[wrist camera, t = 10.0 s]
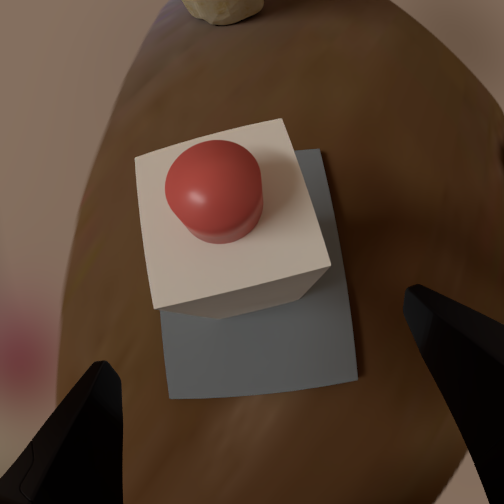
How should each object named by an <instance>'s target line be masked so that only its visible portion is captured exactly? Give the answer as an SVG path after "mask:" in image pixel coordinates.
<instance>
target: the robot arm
mask: <svg viewBox="0 0 504 504" xmlns="http://www.w3.org/2000/svg"><path fill="white" fill-rule="evenodd" d="M403 312H404V316H405V318H406V321H407V323H408V325H409V327H410V330H411V332H412V334H413V337H414V339H415V341H416V344H417V346H418V348H419V351H420V353H421V355H422V357H423V359H424V361H425V363H426V365H427V367H428V369H429V370H430V372H431V374H432V376H433V378H434V380H435V382H436V384H437V386H438V387H439V389H440V391H441V393H442V395H443V397H444V399H445V401H446V403H447V405H448V407H449V409H450V411H451V413H452V415H453V417H454V420H455V422H456V424H457V426H458V428H459V430H460V432H461V435H462V437H463V439H464V441H465V443H466V446H467V448H468V450H469V453H470V455H471V457H472V460H473V462H474V463H475V464H474V465H475V467H476V470H477V472H478V474H479V477H480V480H481V482H482V485H483V487H484V490H485V492H486V495H487V498H488V501H489V504H504V325H503V324H501V323H499V322H497V321H495V320H493V319H491V318H489V317H487V316H485V315H483V314H481V313H479V312H477V311H475V310H473V309H471V308H469V307H467V306H465V305H462V304H460V303H458V302H456V301H454V300H452V299H450V298H448V297H446V296H444V295H441V294H439V293H437V292H435V291H433V290H431V289H429V288H427V287H424V286H422V285H420V284H416V285H413V286H410V287H408V288H407V289H406V291H405V298H404V305H403ZM122 451H123V412H122V388H121V380H120V377H119V376H118V374H117V373H116V372H115V370H114V369H113V368H112V367H111V365H110V364H109V363H108V362H107V361H104V360H103V361H96V362H94V363H93V364H92V365H91V366H90V367H89V369H88V370H87V371H86V372H85V373H84V375H83V376H82V377H81V378H80V379H79V381H78V382H77V383H76V384H75V386H74V387H73V388H72V389H71V390H70V392H69V393H68V394H67V395H66V397H65V398H64V399H63V400H62V402H61V403H60V404H59V405H58V407H57V408H56V409H55V410H54V412H53V413H52V414H51V416H50V417H49V418H48V419H47V421H46V422H45V423H44V425H43V426H42V427H41V428H40V430H39V431H38V432H37V434H36V435H35V436H34V438H33V439H32V441H30V443H29V444H28V446H27V447H26V448H25V450H24V451H23V452H22V453H21V455H20V456H19V457H18V459H17V460H16V461H15V462H14V463H13V465H12V466H11V467H10V468H9V469H8V470H7V472H6V473H5V474H4V475H3V476H2V477H1V478H0V504H123V484H122Z"/></svg>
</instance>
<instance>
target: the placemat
mask: <svg viewBox="0 0 504 504" xmlns="http://www.w3.org/2000/svg"><path fill="white" fill-rule="evenodd" d="M294 153H295V155H296V158H297V161H298V164H299V167H300V169H301V172H302V175H303V178H304V181H305V184H306V187H307V190H308V193H309V196H310V199H311V202H312V205H313V208H314V211H315V214H316V217H317V220H318V223H319V226H320V230H321V233H322V236H323V239H324V242H325V246H326V249H327V252H328V256H329V259H330V263H331V266H330V267H329V269H328V270H327V271H326V272H325V273H324V274H323V275H322V276H321V277H320V278H319V279H318V280H317V281H316V282H315V283H314V284H313V286H312V287H311V288H310V289H309V290H308V291H307V292H306V293H305V294H304V295H303V296H302V297H301V298H300V299H299V300H296V301H293V302H289V303H285V304H281V305H277V306H273V307H269V308H265V309H261V310H257V311H253V312H249V313H245V314H241V315H236V316H232V317H228V318H223V319H214V318H207V317H200V316H194V315H187V314H181V313H175V312H169V311H163V310H160V315H161V327H162V338H163V349H164V358H165V367H166V375H167V383H168V391H169V398H170V399H195V398H220V397H236V396H249V395H260V394H270V393H279V392H287V391H295V390H302V389H309V388H316V387H322V386H328V385H334V384H339V383H345V382H350V381H355V380H358V375H357V364H356V354H355V345H354V336H353V327H352V319H351V312H350V304H349V297H348V290H347V284H346V277H345V271H344V265H343V259H342V253H341V247H340V242H339V236H338V231H337V226H336V221H335V216H334V211H333V206H332V201H331V196H330V192H329V187H328V183H327V178H326V174H325V170H324V165H323V161H322V157H321V153H320V149H310V150H298V151H294Z"/></svg>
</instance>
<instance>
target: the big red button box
mask: <svg viewBox="0 0 504 504" xmlns="http://www.w3.org/2000/svg"><path fill="white" fill-rule="evenodd" d="M135 168H136V181H137V192H138V203H139V212H140V221H141V229H142V237H143V245H144V252H145V259H146V265H147V272H148V278H149V284H150V290H151V295H152V301H153V306H154V309H157V310H163V311H169V312H175V313H181V314H187V315H194V316H200V317H207V318H214V319H223V318H228V317H232V316H236V315H241V314H245V313H249V312H253V311H257V310H261V309H265V308H269V307H273V306H277V305H281V304H285V303H289V302H293V301H296V300H299V299H300V298H301V297H302V296H303V295H304V294H305V293H306V292H307V291H308V290H309V289H310V288H311V287H312V286H313V284H314V283H315V282H316V281H317V280H318V279H319V278H320V277H321V276H322V275H323V274H324V273H325V272H326V271H327V270H328V269H329V267H330V266H331V263H330V259H329V256H328V252H327V249H326V246H325V242H324V239H323V236H322V233H321V230H320V226H319V223H318V220H317V217H316V214H315V211H314V208H313V205H312V202H311V199H310V196H309V193H308V190H307V187H306V184H305V181H304V178H303V175H302V172H301V169H300V167H299V164H298V161H297V158H296V155H295V153H294V150H293V147H292V144H291V142H290V139H289V136H288V134H287V131H286V128H285V126H284V123H283V121H282V118H281V119H275V120H271V121H266V122H261V123H256V124H252V125H247V126H243V127H239V128H235V129H231V130H227V131H223V132H219V133H215V134H211V135H207V136H204V137H200V138H196V139H193V140H189V141H186V142H182V143H179V144H176V145H172V146H169V147H166V148H163V149H160V150H156V151H153V152H150V153H147V154H144V155H141V156H138V157H136V158H135Z"/></svg>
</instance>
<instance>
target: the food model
mask: <svg viewBox="0 0 504 504" xmlns="http://www.w3.org/2000/svg"><path fill="white" fill-rule="evenodd" d="M182 1H183V3H184V5H185V6H186V8H187V9H188V11H189V12H190V13H191V15H192V16H193V17H196V18H200V19H204V20H205V21H207V22H208V23H210V24H214V25H228V24H232V23H236V22H238V21H240V20H243V19H245V18H247V17H249V16H252V15H254V14H256V13H258V12H259V11H260V10H261V9H262V7H263V5H264V0H182Z"/></svg>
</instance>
